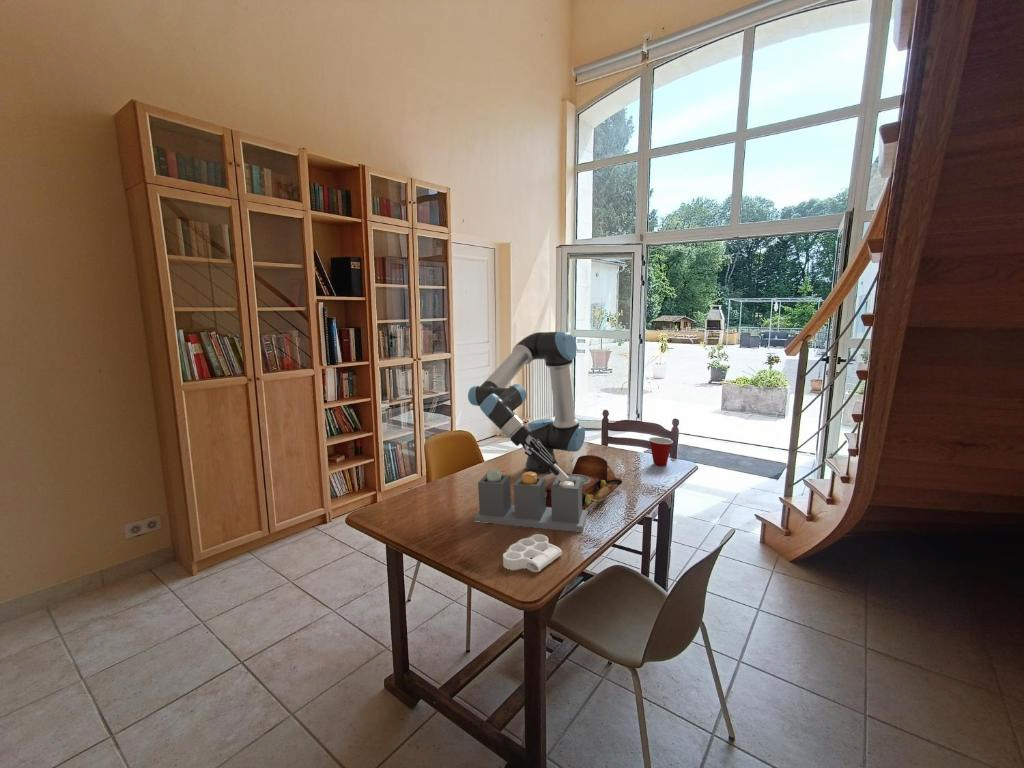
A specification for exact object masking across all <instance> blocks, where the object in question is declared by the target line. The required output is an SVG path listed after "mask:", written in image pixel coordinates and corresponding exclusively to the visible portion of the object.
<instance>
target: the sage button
mask: <svg viewBox="0 0 1024 768" xmlns="http://www.w3.org/2000/svg"><path fill="white" fill-rule="evenodd" d="M486 474H487V481H488V482H500V481H501V475H502V471H501V470H500V469H491V470H488V471H486Z"/></svg>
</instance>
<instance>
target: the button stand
mask: <svg viewBox="0 0 1024 768" xmlns="http://www.w3.org/2000/svg"><path fill="white" fill-rule="evenodd" d="M566 481H571V482H573V483H574V487H566V486H559V483H560V482H561V481H560V480H559V479H558V478H557V477H555V479H554V481H553V482H554V483H553V482H552V483H553V485H552V487H551V500H552V508H551V507H548V506H546V497H547V494H546V493H545V486H546V477H544V476H537V484H536V485H535V484H523V481H522V475H520V476H519V477H518V479H517V480H516V482H514V484H513V495H514V498H513V499H514V504H512V497H511V496H512V495H511V493H512V491H511V475H509V474H501V481H500V482H488V481H487V473H486V474H484V476H483V477H482V478H481V479H479V481H478V483H477V486H478V487H477V489H478V504H479V505H478V507H479V508H478V509H479V510H478V511H477V513H476V514H475V515H474V516H473V522H474V521H480V522H488V523H495V524H494V525H497V524H505V525H504V526H508V525H515V526H514V527H519V526H523V527H522V528H530V527H533V528H532V529H541V528H542V529H543V530H544V529H545V530H554V531H564V532H565V531H566V532H574V531H575V532H576V533H583V532H584V529H585V526H586V522H587V518H588V510H586V509H584V510H582V480H581V479H567V480H566ZM584 525H585V526H584Z"/></svg>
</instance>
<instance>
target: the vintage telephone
mask: <svg viewBox="0 0 1024 768" xmlns="http://www.w3.org/2000/svg"><path fill="white" fill-rule="evenodd" d="M565 474H566V475H567V476H568V477H569V478H568V479H581V480H582V510H586V508H588V506H590V505H591V504H592V503H598V501H599V500H602V499H604V498H606V497H607V496H608V495H609V494H610V493H612V491H614V490H615V489H616V488H617V487H618V486H621V484H622V483H623V480H622V478H619V477H616V475H615V474H614V471H613V470H612V468H611V467H610V466H609V465H608V461H607V460H605V458H603V457H600V456H598V455H593V454H592V455H591V454H587V455H581V456H578V458H577V459H576V461H575V465H574V466H573V469H572V472H571V473H565ZM553 483H554V481H553V482H551V483H550V484H548V485H545V494H546V507H548V506H549V507H551V508H552V500H551V487H552V485H553Z"/></svg>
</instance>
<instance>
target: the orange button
mask: <svg viewBox="0 0 1024 768" xmlns="http://www.w3.org/2000/svg"><path fill="white" fill-rule="evenodd" d="M537 474H538V473H535V472H529V471H525V472H523V473H522V474H521V476H522V481H523V484H535V485H536V484H537V477H538V475H537Z"/></svg>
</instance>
